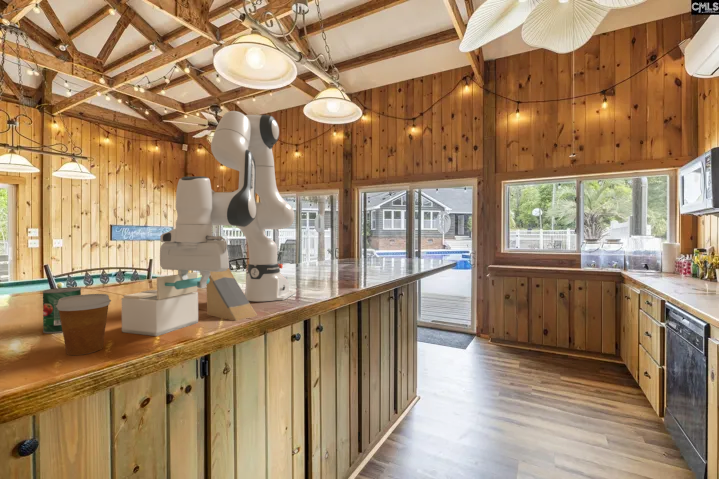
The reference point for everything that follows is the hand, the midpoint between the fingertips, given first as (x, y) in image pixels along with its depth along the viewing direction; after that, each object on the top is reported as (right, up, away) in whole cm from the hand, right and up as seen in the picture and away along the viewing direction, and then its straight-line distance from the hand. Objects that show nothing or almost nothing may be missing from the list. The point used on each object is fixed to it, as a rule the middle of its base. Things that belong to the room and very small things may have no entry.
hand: (194, 287), depth 90 cm
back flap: (-14, -3, +5) cm, 15 cm away
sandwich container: (+3, -12, +19) cm, 22 cm away
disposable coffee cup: (-17, -12, -15) cm, 26 cm away
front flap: (-6, 0, +2) cm, 6 cm away
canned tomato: (-37, -12, +2) cm, 39 cm away
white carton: (-11, -12, +4) cm, 17 cm away
